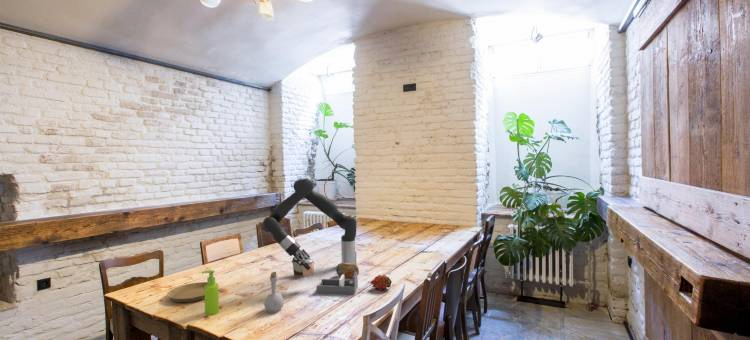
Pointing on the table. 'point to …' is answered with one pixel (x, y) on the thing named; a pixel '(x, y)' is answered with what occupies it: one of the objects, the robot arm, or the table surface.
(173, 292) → the plant saucer
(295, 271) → the food container
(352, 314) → the table surface
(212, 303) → the soap dispenser
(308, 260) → the jar
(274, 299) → the potion bottle
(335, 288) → the grey low-walled tray
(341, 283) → the pusher
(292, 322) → the table surface
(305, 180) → the robot arm
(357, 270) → the brown lumpy slab
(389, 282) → the dragon fruit
